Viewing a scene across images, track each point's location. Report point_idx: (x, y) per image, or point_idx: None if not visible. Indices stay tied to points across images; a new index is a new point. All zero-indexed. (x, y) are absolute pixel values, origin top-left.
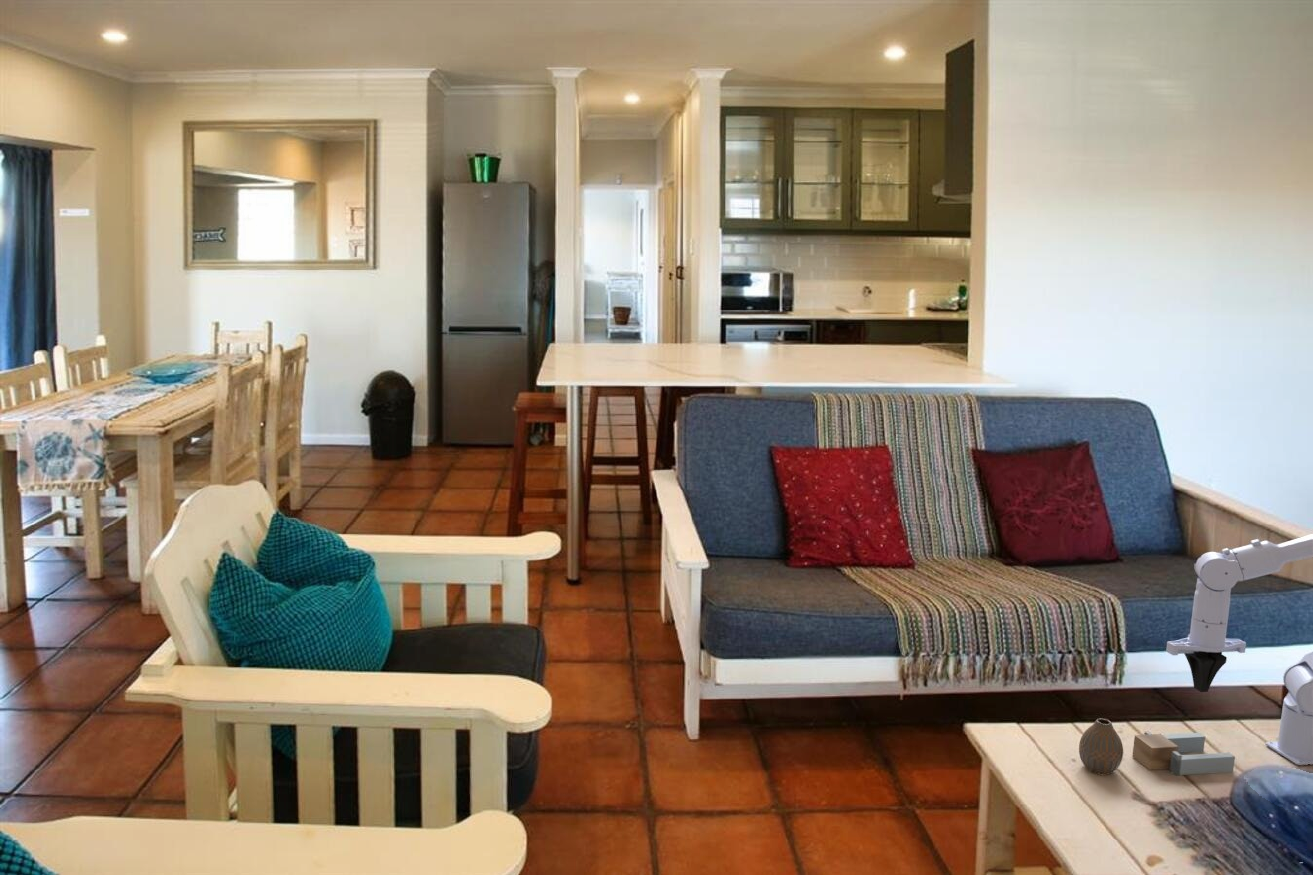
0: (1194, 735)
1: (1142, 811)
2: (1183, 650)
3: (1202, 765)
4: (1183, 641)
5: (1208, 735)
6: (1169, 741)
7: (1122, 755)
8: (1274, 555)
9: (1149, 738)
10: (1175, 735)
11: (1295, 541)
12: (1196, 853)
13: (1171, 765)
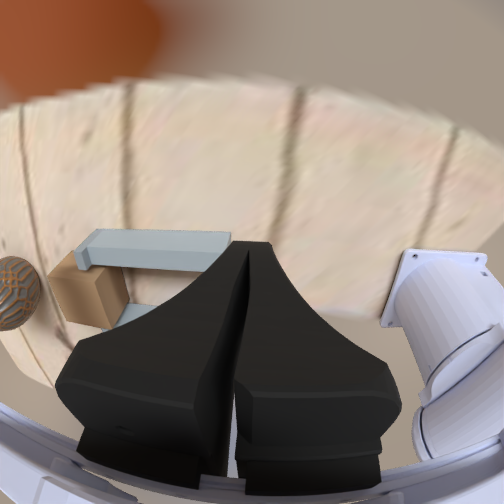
0: (199, 263)
1: (62, 354)
2: (30, 444)
3: None
4: (3, 465)
5: (313, 176)
6: (101, 312)
7: (30, 315)
8: None
9: (68, 292)
10: (148, 256)
11: None
12: None
13: None
